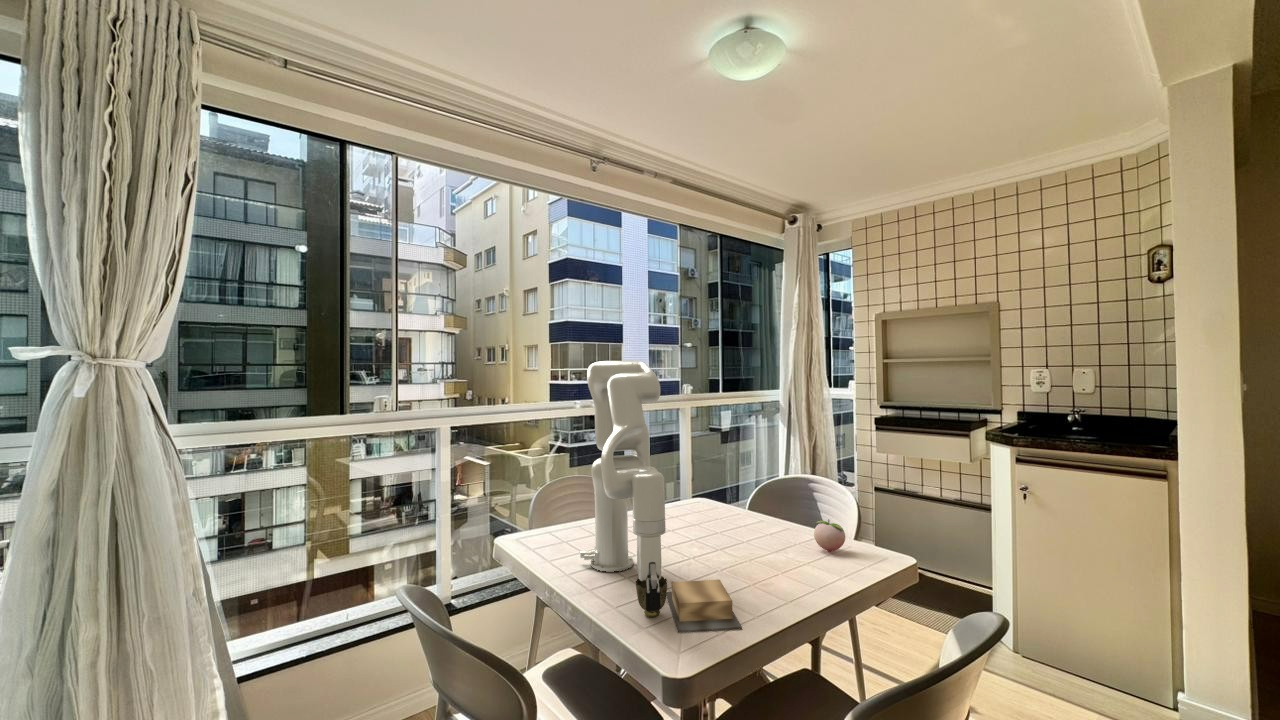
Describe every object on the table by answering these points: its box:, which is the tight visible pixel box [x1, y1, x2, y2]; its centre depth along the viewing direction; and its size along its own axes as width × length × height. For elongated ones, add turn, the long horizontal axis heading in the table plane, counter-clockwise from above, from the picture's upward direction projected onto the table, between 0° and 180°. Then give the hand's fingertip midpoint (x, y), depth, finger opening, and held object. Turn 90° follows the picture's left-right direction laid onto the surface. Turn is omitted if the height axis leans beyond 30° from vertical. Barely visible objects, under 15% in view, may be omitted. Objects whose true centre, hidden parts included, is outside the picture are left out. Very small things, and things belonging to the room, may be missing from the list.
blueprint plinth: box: [666, 579, 743, 634], centre depth 121 cm, size 14×20×4 cm
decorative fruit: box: [813, 519, 846, 553], centre depth 158 cm, size 9×8×10 cm
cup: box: [634, 575, 669, 619], centre depth 118 cm, size 8×7×8 cm
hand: (651, 601), depth 118 cm, fingers open, 9 cm apart
